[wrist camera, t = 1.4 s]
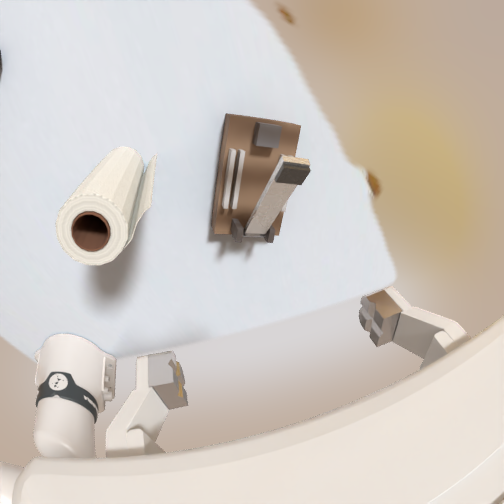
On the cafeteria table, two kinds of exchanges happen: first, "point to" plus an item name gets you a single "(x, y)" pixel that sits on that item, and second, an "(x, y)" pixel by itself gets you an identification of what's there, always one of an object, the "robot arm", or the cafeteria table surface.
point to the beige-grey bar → (276, 194)
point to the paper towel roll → (106, 208)
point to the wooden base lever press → (249, 170)
